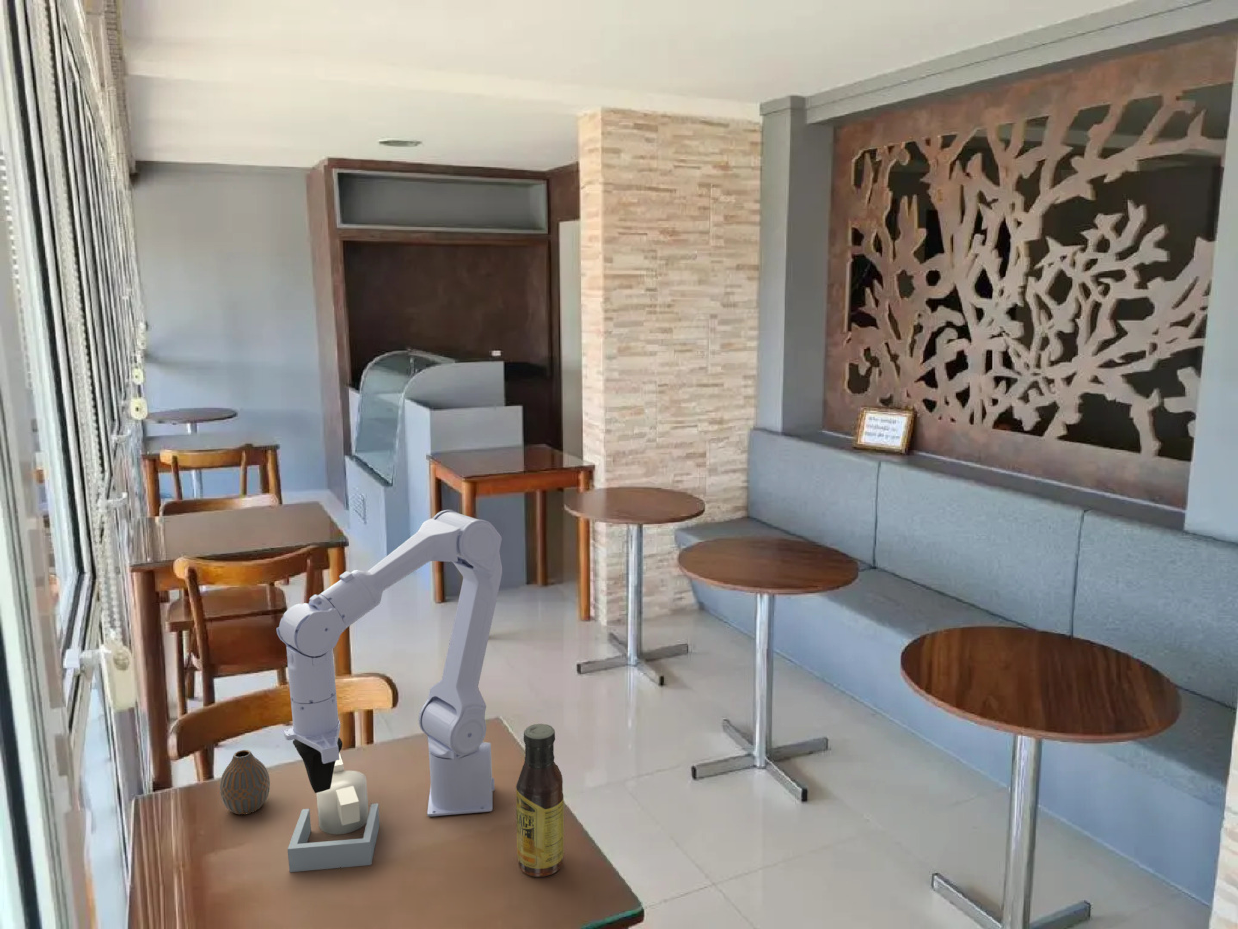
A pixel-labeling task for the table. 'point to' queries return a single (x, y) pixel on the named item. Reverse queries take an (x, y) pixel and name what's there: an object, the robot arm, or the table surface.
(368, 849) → the holder
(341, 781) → the cream egg with arms
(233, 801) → the vase
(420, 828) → the table surface
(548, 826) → the sauce bottle
